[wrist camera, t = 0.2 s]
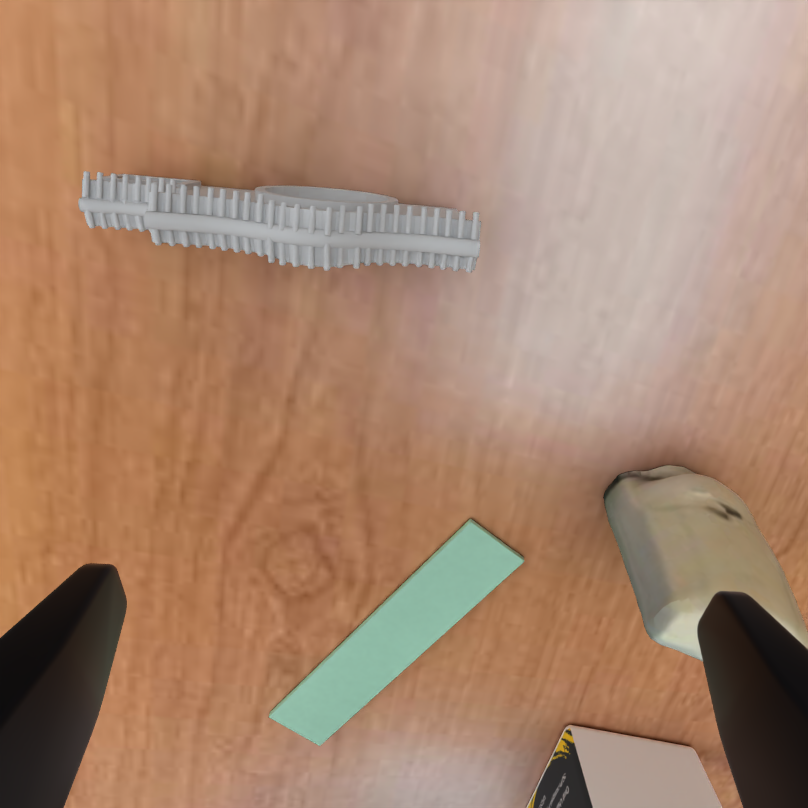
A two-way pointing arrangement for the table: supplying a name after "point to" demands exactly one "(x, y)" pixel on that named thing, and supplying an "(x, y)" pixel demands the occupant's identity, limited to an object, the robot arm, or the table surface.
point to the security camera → (621, 774)
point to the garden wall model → (285, 222)
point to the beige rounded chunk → (692, 553)
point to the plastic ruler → (398, 632)
